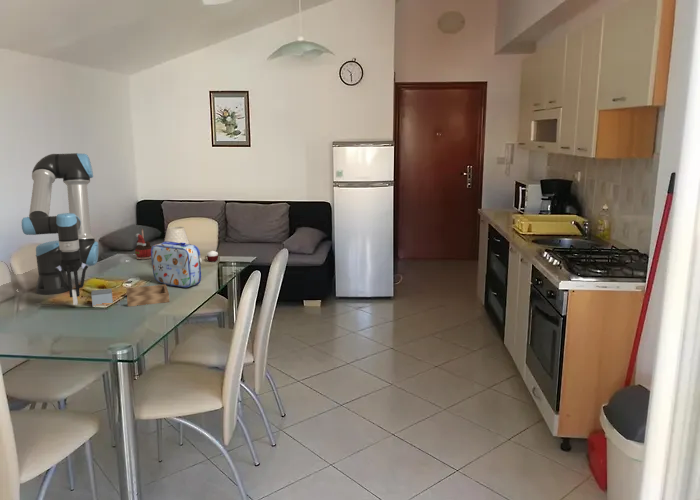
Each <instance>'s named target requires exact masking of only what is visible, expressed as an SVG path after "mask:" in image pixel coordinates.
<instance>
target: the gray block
mask: <svg viewBox="0 0 700 500" xmlns="http://www.w3.org/2000/svg"><path fill="white" fill-rule="evenodd" d="M112 290H113V289H112V288H105V289H95V290H94V289H93V290H91V294H90V295H91V303H92V306H93V305H96V304H102V303H114V301H113V291H112Z"/></svg>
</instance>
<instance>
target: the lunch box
mask: <svg viewBox="0 0 700 500" xmlns="http://www.w3.org/2000/svg"><path fill="white" fill-rule="evenodd" d="M150 259H151V266H152V267H151V268H152V273H153V277H154V279H155V280H156V281H157V282H158V283H160V284H163V285H165V284H166V286H167V285H168V286H170V287H171V286H172V287H179V288H189V287H192V286H195V285H199V284H200V283H201V280H202V269H201V266H202V263H203V260H202V257H201V252H200V249H199V247H198V246H196V245H195V244H191V243H190V244H185V243H176V242H169V241H166V242H164V241H163V242H161V243H157V244H154V245H151V258H150Z"/></svg>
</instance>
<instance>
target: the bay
mask: <svg viewBox="0 0 700 500" xmlns="http://www.w3.org/2000/svg"><path fill="white" fill-rule="evenodd" d="M125 290H126V301H127V307H128V306H129V307H137V305H138V306H145V305H146V304H147V305H154V304H156V305H157V304H164V303H165V304H166V303H170V292H169V289H168V286H167V284H158V285H157V284H155V285H147V286H136V287H135V286H134V287H127V288H126V289H125ZM147 305H146V306H147Z"/></svg>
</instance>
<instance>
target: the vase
mask: <svg viewBox="0 0 700 500" xmlns="http://www.w3.org/2000/svg"><path fill="white" fill-rule="evenodd" d="M166 241H169V242H176V243H185V244H191V243H190V241H189V237H188V235H187V232H186V229H185V227H184V226H169V227H167V228H166V232H165V236H164V241H163V242H166Z"/></svg>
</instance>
